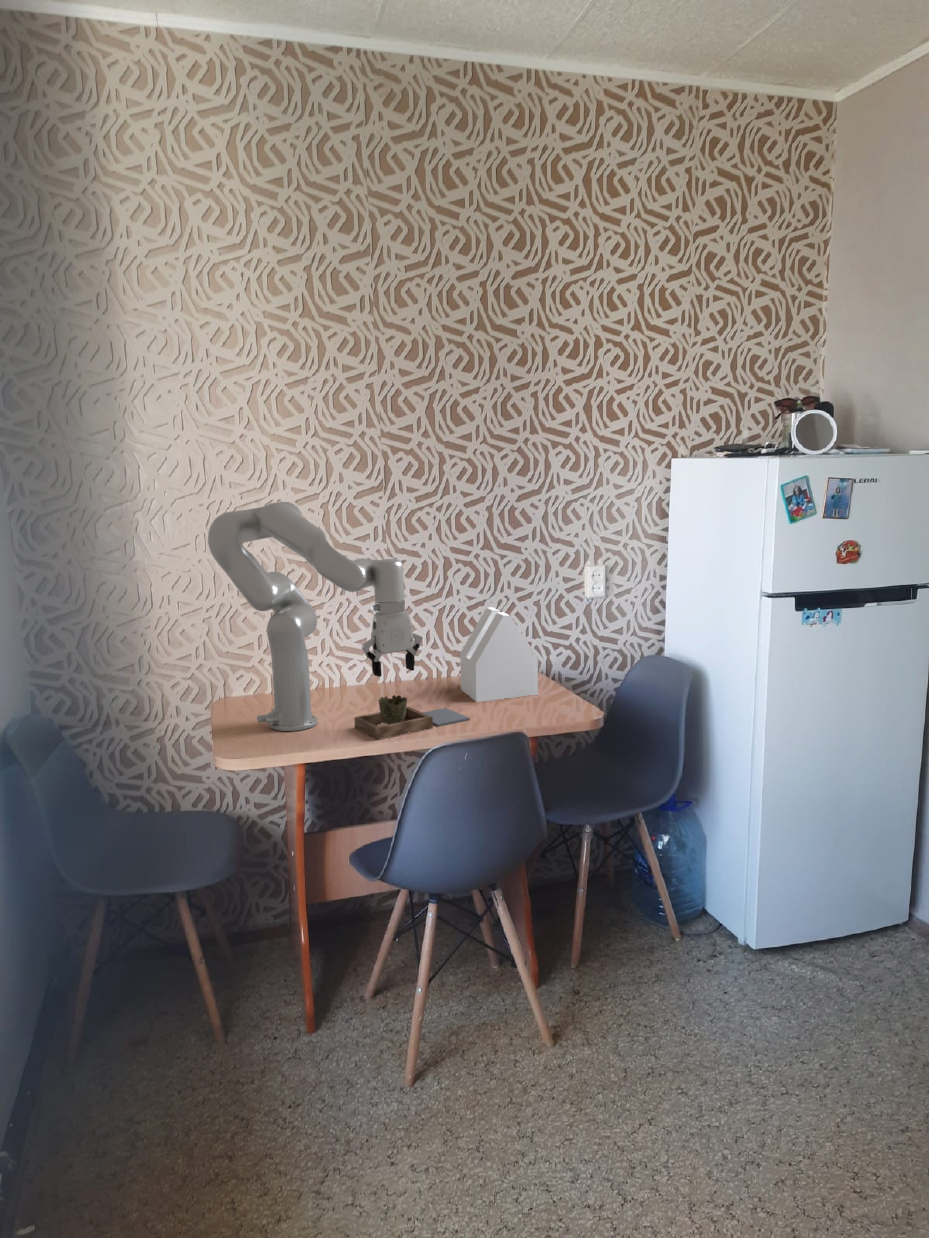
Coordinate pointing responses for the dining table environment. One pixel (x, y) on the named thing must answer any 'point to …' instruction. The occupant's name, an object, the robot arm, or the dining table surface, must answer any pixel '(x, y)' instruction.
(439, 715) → the mat
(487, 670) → the grey slotted house block
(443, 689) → the dining table surface
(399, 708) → the cup
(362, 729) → the frame
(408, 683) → the dining table surface
